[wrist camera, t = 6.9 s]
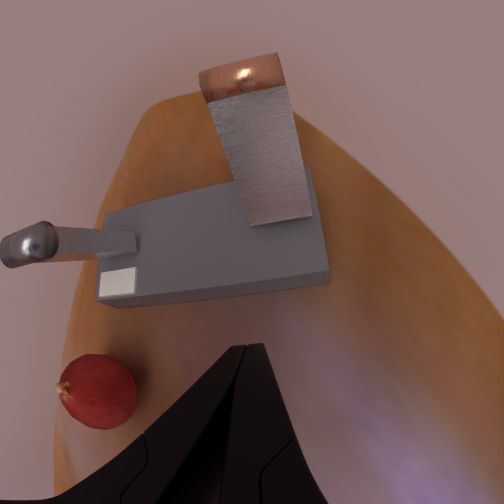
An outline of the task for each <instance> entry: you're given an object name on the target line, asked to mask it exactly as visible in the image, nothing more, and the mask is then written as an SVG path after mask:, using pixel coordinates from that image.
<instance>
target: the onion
mask: <svg viewBox="0 0 504 504" xmlns="http://www.w3.org/2000/svg"><path fill="white" fill-rule="evenodd" d="M56 390H57V393H58V394H59V396H60V398H61V401H62V403H63V405H64V406H65V408H66V409H67V411H68V412H69V414H70V415H71V416H72V417H73V418H75V419H76V420H78V421H79V422H81V423H83V424H84V425H86V426H88V427H90V428H94V429H102V430H108V429H113V428H115V427H117V426H120V425H122V424H124V423H125V422H127V421H128V419H129V418H130V417H131V415H132V414H133V413H134V411H135V408H136V404H137V400H138V398H137V387H136V384H135V382H134V379H133V377H132V375H131V374H130V373H129V372H128V371H127V369H126V368H125V367H124V366H123V365H122V364H121V363H120V362H118V361H116V360H115V359H113V358H111V357H109V356H107V355H99V354H86V355H83V356H81V357H79V358H77V359H76V360H74V361H72V362H71V363H70V364H69V365H68V366H67V367H66V369H65V370H64V372H63V373H62V375H61V378H60V382H59V383H57V385H56Z"/></svg>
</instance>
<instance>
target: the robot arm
mask: <svg viewBox="0 0 504 504" xmlns="http://www.w3.org/2000/svg"><path fill="white" fill-rule="evenodd" d="M0 504H328V502H327V500H326V499H325V497H324V495H323V494H322V492H321V490H320V489H319V487H318V485H317V483H316V481H315V479H314V478H313V476H312V474H311V472H310V470H309V467H308V465H307V463H306V460H305V458H304V455H303V453H302V450H301V448H300V445H299V442H298V440H297V437H296V434H295V431H294V429H293V426H292V423H291V420H290V418H289V415H288V412H287V409H286V406H285V403H284V401H283V398H282V395H281V392H280V389H279V386H278V383H277V381H276V378H275V375H274V372H273V369H272V366H271V363H270V360H269V358H268V355H267V352H266V349H265V346H264V344H263V343H256V344H249V345H248V346H247V345H235V346H231V347H230V348H229V349H228V350H227V351H226V352H225V353H224V354H223V355H222V356H221V357H220V358H219V359H218V360H217V361H216V362H215V363H214V364H213V365H212V366H211V367H210V368H209V369H208V370H207V371H206V372H205V373H204V374H203V375H202V376H201V377H200V378H199V379H198V380H197V381H196V382H195V383H194V384H193V385H192V386H191V387H190V388H189V389H188V390H187V391H186V392H185V393H184V394H183V395H182V396H181V397H180V398H179V399H178V400H177V401H176V402H175V403H174V404H173V405H172V406H171V407H170V408H169V409H168V410H167V411H166V412H165V413H163V414H162V415H161V416H160V417H159V418H158V419H157V420H156V421H155V422H154V423H153V424H152V425H151V426H150V427H149V428H148V429H147V430H145V431H144V434H141V435H140V436H139V437H138V438H137V439H136V440H134V441H133V442H132V443H131V444H130V445H129V446H128V447H127V448H125V449H124V450H123V451H122V452H121V453H120V454H118V455H117V456H116V457H115V458H113V459H112V460H111V461H109V462H108V463H107V464H105V465H104V466H103V467H101V468H100V469H98V470H97V471H96V472H94V473H93V474H91V475H90V476H88V477H87V478H85V479H84V480H82V481H81V482H79V483H78V484H76V485H75V486H73V487H72V488H70V489H69V490H67V491H66V492H64V493H62V494H60V495H58V496H55V497H53V498H49V499H43V500H0Z"/></svg>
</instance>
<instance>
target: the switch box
mask: <svg viewBox="0 0 504 504" xmlns="http://www.w3.org/2000/svg"><path fill="white" fill-rule="evenodd" d="M304 170H305V175H306V181H307V186H308V192H309V197H310V203H311V209H312V215H313V216H307V217H301V218H295V219H289V220H283V221H278V222H272V223H266V224H260V225H255V226H250V224H249V221H248V218H247V215H246V212H245V209H244V207H243V204H242V201H241V198H240V195H239V192H238V189H237V187H236V184H235V181H230V182H225V183H221V184H216V185H212V186H208V187H203V188H199V189H195V190H191V191H187V192H183V193H179V194H175V195H171V196H167V197H163V198H160V199H156V200H152V201H149V202H145V203H141V204H138V205H134V206H131V207H127V208H124V209H120V210H117V211H114V212H110V213H107V214H106V215H105V221H104V227H103V230H111V231H124V232H134V233H135V241H136V249H137V252H134V253H129V254H124V255H119V256H114V257H109V258H104V259H99V264H98V273H97V283H96V295H95V301H97V302H100V303H103V304H106V305H108V306H111V307H114V308H117V309H118V308H130V307H141V306H152V305H162V304H172V303H181V302H191V301H200V300H209V299H217V298H225V297H234V296H242V295H249V294H257V293H264V292H272V291H279V290H286V289H293V288H300V287H307V286H313V285H320V284H326V283H330V270H329V263H328V257H327V252H326V246H325V240H324V234H323V229H322V224H321V218H320V213H319V208H318V203H317V198H316V193H315V189H314V184H313V179H312V175H311V170H310V166H306V167H304Z"/></svg>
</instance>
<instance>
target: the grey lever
mask: <svg viewBox="0 0 504 504" xmlns="http://www.w3.org/2000/svg"><path fill="white" fill-rule="evenodd" d="M134 252H137V249H136V241H135V233H134V232H124V231H111V230H98V229H85V228H71V227H57V226H53V225H52V224H51V223H49V222H47V221H41V222H39V223H36V224H34V225H31V226H29V227H27V228H24V229H22V230H20V231H17V232H15V233H13V234H11V235H8V236H6V237H5V238H3V239H2V241H1V243H0V259H1V261H2V263H3V264H4V265H5V266H6V267H8V268H17V267H20V266H24V265H28V264H31V263H45V262H62V261H81V260H99V259H104V258H109V257H114V256H119V255H124V254H129V253H134Z"/></svg>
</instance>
